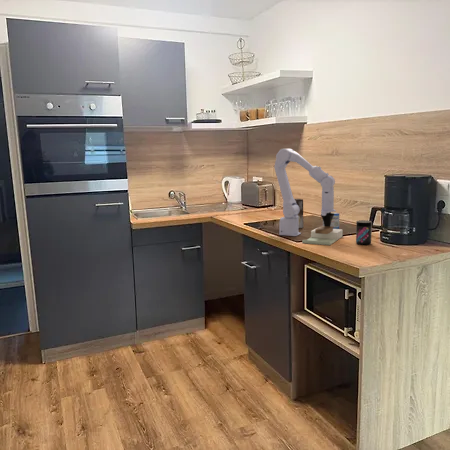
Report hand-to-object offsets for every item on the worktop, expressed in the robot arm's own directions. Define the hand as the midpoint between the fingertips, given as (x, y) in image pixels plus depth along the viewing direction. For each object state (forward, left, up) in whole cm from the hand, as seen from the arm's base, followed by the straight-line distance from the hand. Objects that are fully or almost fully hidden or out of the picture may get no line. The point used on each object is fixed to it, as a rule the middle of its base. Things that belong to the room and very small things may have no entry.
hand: (327, 227), depth 208 cm
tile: (0, -6, -1) cm, 6 cm away
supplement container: (+19, -9, -5) cm, 22 cm away
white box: (0, -1, -4) cm, 5 cm away
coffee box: (-25, +18, -5) cm, 31 cm away
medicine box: (-5, +22, -5) cm, 23 cm away
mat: (0, -12, -4) cm, 13 cm away
